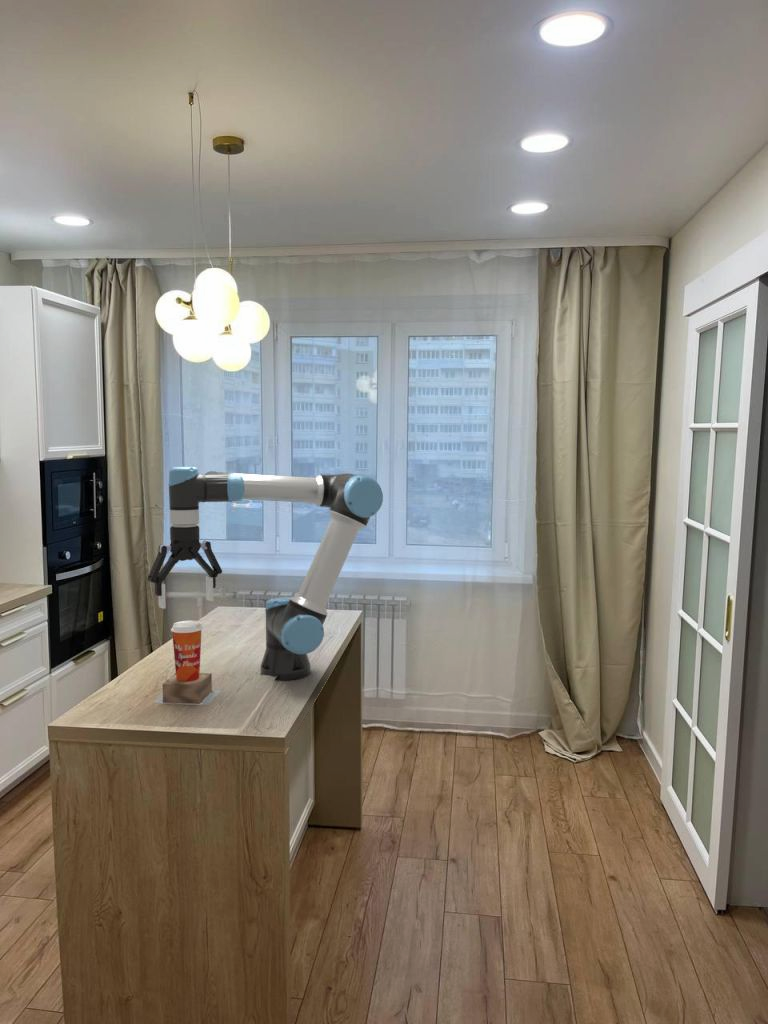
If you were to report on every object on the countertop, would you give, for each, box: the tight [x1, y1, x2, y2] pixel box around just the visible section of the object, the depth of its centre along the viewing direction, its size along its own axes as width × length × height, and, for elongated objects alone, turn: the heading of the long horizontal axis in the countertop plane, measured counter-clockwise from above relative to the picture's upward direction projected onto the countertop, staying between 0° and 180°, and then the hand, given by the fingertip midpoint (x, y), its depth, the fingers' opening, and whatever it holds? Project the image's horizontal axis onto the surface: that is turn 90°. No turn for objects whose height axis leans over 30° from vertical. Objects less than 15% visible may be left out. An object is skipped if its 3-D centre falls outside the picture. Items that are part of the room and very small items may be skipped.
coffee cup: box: [170, 620, 204, 682], centre depth 196 cm, size 8×8×15 cm
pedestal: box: [162, 672, 213, 704], centre depth 197 cm, size 10×10×5 cm
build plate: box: [152, 689, 222, 706], centre depth 197 cm, size 15×11×1 cm
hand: (186, 604), depth 195 cm, fingers open, 13 cm apart
